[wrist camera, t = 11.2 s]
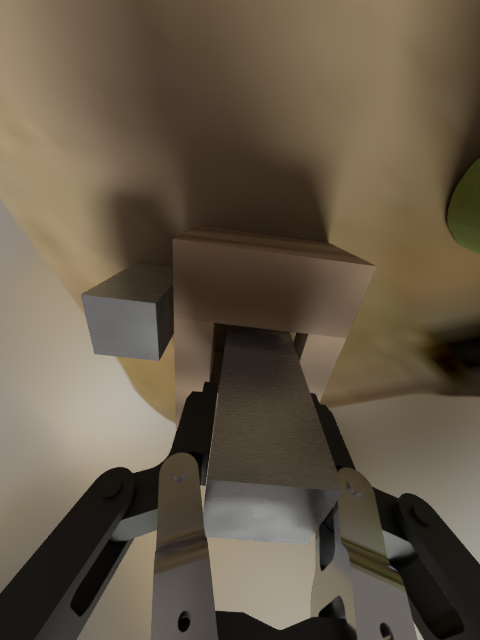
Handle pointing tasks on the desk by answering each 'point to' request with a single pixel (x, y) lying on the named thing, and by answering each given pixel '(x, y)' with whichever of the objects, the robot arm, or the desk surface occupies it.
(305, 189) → the desk surface
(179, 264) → the block with rectangular hole
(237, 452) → the tall pin
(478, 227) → the plant pot
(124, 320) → the grey rectangular block
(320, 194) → the desk surface
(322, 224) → the desk surface
